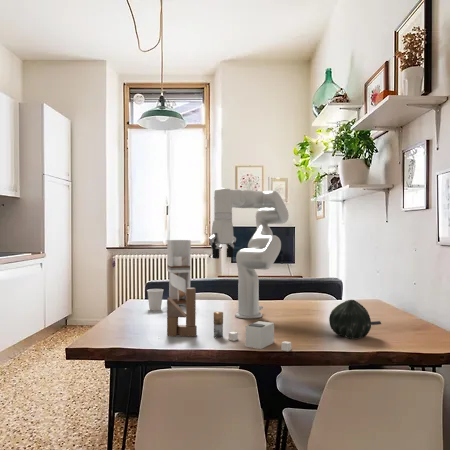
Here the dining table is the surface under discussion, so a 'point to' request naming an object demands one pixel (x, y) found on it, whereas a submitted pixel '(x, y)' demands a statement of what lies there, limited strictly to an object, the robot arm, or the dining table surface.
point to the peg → (218, 324)
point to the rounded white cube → (233, 336)
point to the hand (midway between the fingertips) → (223, 257)
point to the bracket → (375, 322)
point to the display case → (179, 269)
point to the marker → (286, 346)
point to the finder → (259, 334)
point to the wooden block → (176, 312)
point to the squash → (350, 320)
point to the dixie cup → (155, 299)
